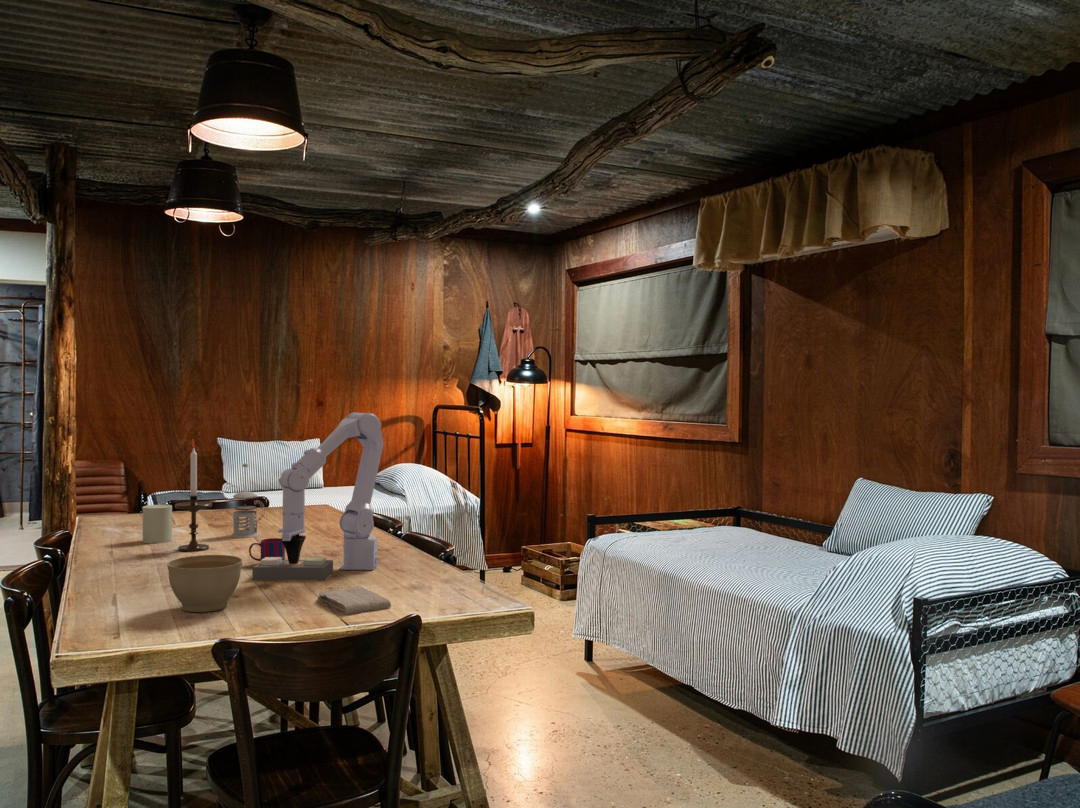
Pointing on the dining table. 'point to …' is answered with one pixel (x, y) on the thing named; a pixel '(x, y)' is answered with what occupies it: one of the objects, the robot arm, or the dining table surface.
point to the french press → (245, 515)
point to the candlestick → (193, 508)
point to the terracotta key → (294, 564)
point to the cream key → (271, 561)
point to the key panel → (292, 571)
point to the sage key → (315, 561)
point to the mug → (270, 548)
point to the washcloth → (353, 600)
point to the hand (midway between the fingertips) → (293, 563)
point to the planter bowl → (204, 581)
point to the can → (157, 523)
